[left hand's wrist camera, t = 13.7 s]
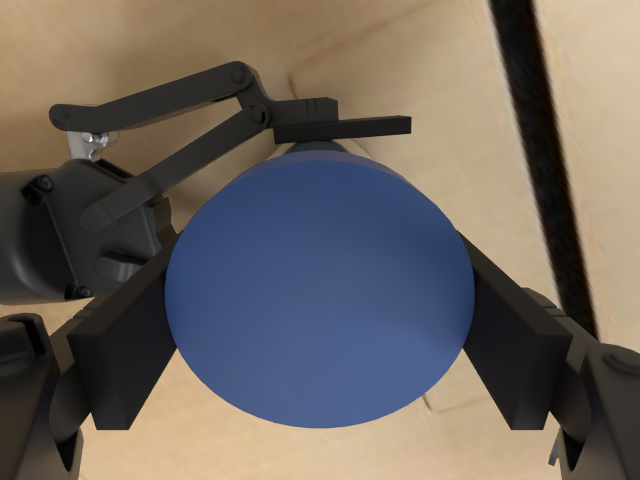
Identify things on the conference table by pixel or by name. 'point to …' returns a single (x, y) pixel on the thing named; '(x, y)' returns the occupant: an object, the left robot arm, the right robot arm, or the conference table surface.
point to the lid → (319, 291)
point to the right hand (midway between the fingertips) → (403, 211)
